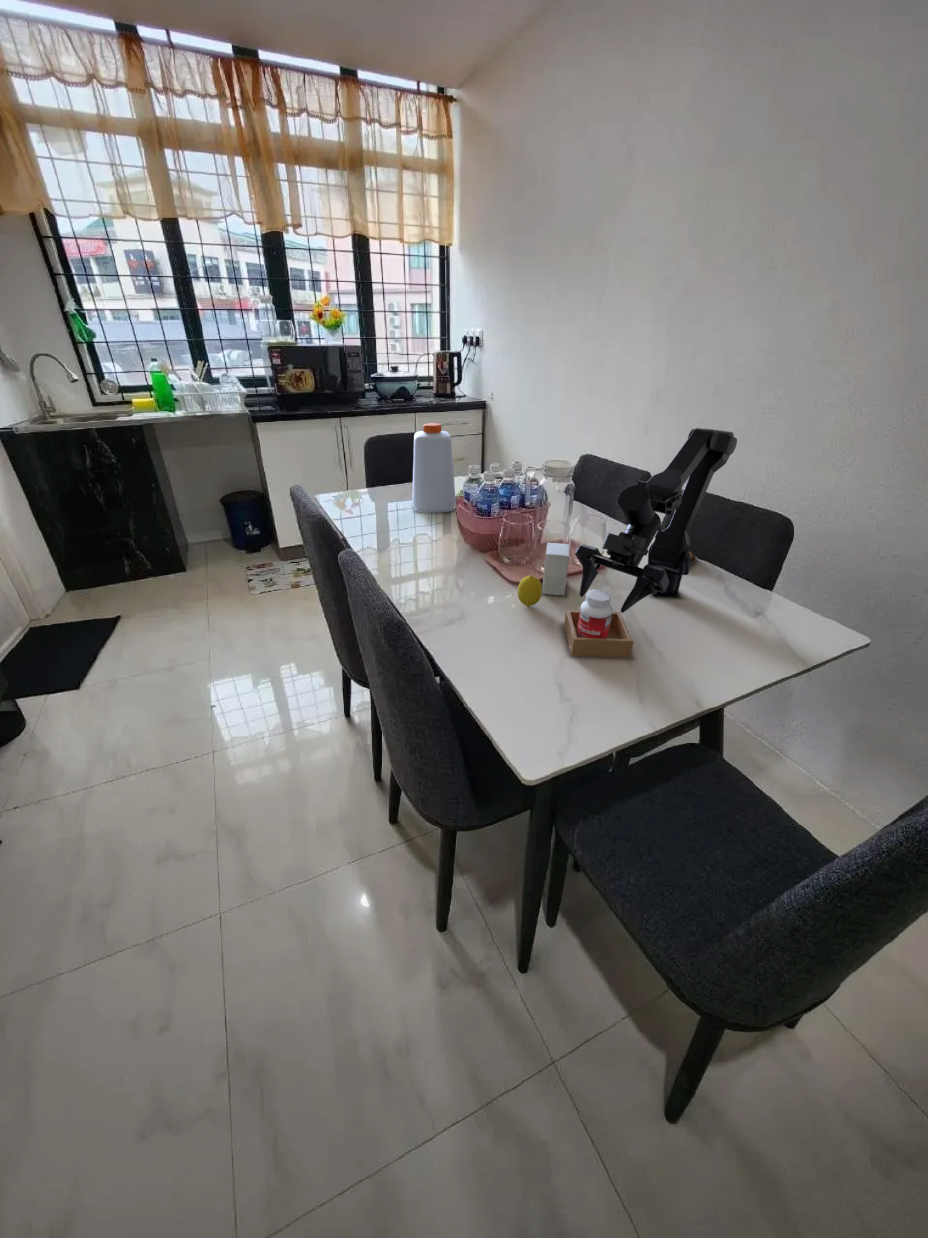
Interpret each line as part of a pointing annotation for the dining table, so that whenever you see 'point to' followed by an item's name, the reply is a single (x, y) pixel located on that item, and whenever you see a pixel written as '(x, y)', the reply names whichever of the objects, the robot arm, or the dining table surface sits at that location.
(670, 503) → the robot arm
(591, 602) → the pill bottle
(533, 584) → the lemon
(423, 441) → the plastic bottle
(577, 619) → the open box
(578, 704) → the dining table surface
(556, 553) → the small box
